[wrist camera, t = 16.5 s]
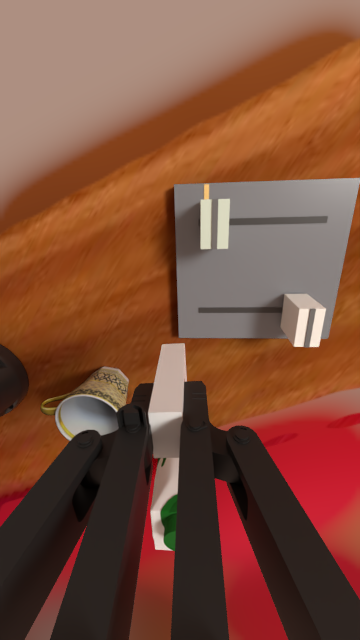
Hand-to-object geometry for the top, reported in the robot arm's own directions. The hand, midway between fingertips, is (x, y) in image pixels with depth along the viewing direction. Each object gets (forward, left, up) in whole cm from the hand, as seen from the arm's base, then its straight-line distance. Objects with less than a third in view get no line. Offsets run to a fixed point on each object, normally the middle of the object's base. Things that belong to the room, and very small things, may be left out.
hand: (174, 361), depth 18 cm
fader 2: (+15, -4, -21) cm, 26 cm away
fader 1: (+3, +8, -21) cm, 22 cm away
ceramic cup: (-15, -18, -23) cm, 33 cm away
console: (+10, +2, -23) cm, 25 cm away
